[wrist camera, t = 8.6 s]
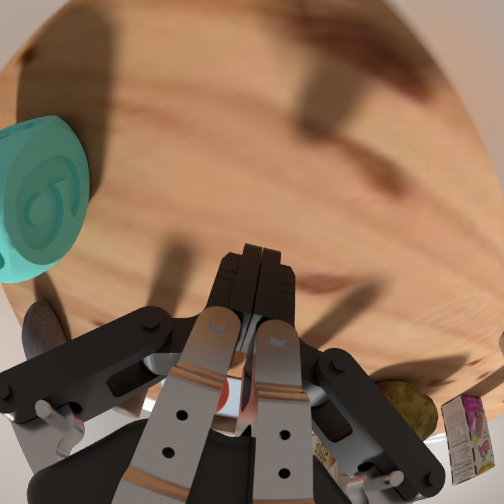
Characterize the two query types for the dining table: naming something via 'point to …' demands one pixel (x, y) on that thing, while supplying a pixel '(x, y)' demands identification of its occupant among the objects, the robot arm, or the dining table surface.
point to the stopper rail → (224, 424)
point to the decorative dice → (39, 196)
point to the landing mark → (230, 398)
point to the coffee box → (330, 464)
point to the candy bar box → (467, 438)
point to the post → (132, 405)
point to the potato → (412, 406)
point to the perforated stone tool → (41, 330)
